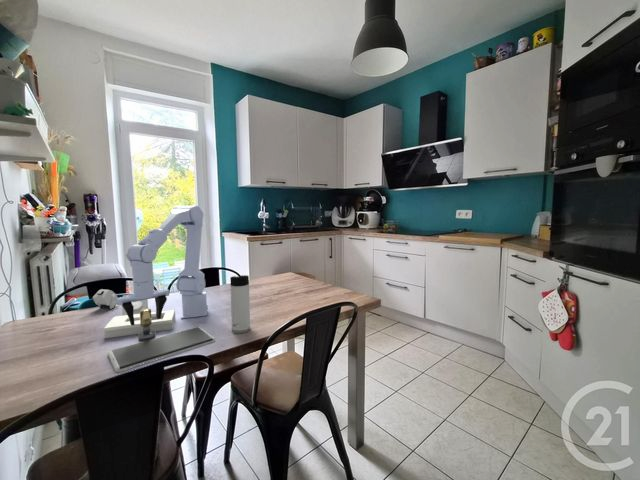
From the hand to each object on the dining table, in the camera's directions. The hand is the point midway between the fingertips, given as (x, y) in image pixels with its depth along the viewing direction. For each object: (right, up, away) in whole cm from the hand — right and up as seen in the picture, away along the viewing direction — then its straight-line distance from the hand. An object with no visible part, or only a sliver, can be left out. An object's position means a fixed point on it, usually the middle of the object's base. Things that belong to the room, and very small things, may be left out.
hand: (145, 321), depth 95 cm
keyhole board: (-6, -5, +9) cm, 12 cm away
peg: (0, -6, +1) cm, 6 cm away
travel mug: (+30, -5, +7) cm, 31 cm away
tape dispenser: (-34, -3, +29) cm, 45 cm away
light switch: (-16, -4, +20) cm, 26 cm away
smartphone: (+10, -7, -6) cm, 13 cm away
